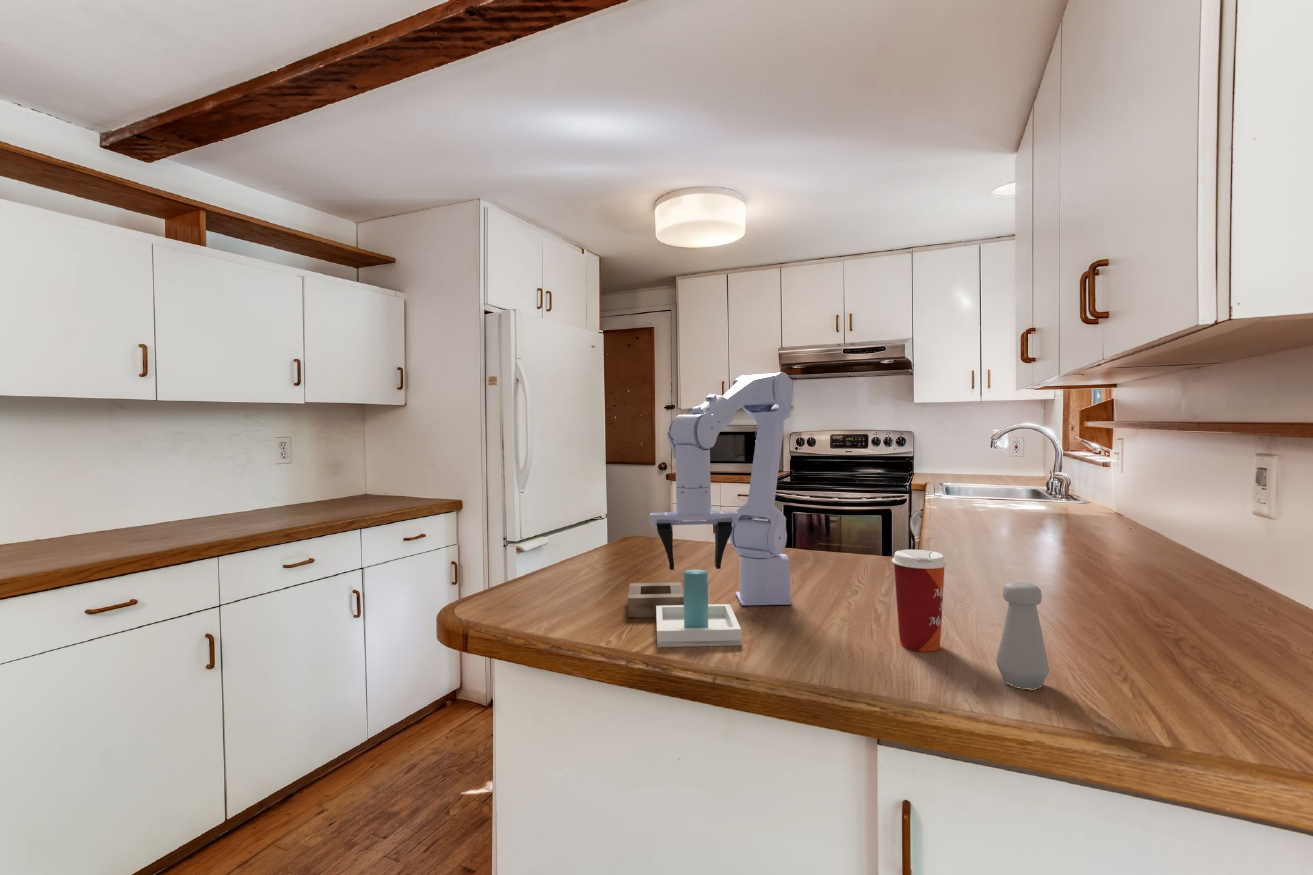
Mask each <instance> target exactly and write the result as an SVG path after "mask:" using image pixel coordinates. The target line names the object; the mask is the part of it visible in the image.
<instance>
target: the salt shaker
mask: <svg viewBox="0 0 1313 875" xmlns="http://www.w3.org/2000/svg"><path fill="white" fill-rule="evenodd" d="M1001 592H1002V597H1003V600H1004V601H1006V602H1007V603H1008V606H1007V611H1006V615H1005V618H1004V624H1003V627H1002V628H1003V629H1002V633H1001V635H1000V636H1001V637H1000V641H999V646H998V650H997V655H996V658H995V659H996V660H995V663H996V666H997V668H998V670H999V673H1000V675H1001V677H1002V679H1003V681H1004V683H1005V682H1007V683H1009V684H1012V685H1013V686H1016V687H1020V688H1031V689H1035V688H1039V687H1040V686H1042V687H1043V684H1044V683H1045V681H1046V679H1047V678H1048V675H1049V672H1050V667H1049V662H1048V657H1047V653H1046V652H1047V651H1046V647H1045V643H1044V642H1045V641H1044V638H1043V636H1044V635H1043V632H1042V627H1041V626H1042V625H1041V621H1040V617H1039V611H1038V607H1037V606H1038V605H1040V604H1041V603H1042V600H1043V598H1042V597H1043V594H1042V590H1041V589H1040V588H1039V586H1037V585H1036V584H1034V583H1031V582H1026V581H1009V582H1006V583H1005V584H1003V586H1002V591H1001ZM1039 689H1040V688H1039Z"/></svg>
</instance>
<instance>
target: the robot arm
mask: <svg viewBox="0 0 1313 875" xmlns="http://www.w3.org/2000/svg"><path fill="white" fill-rule="evenodd" d="M793 394H794V389H793V384H792V381H791V379H790V377H789V375H788V374H787V373H786V372H783V371H779V372H775V373H774V372H773V373H762V374H750V375H749V374H742V375H740V376H738V377H736V378H735V380H734V384H733V386H731V388H730V389H728V390H727V391H726V392H725V393H724V394H723V395H718V394H708V395H707V396H705V401H704V402H702V403H701V404H700V405H699V404H698V405H697V406H693V407H692V408H691V411H690V412H688V413H687V414H679V415H677V416H675V417H674V419H672V421H671V422H670V424H669V426H668V431H666V434H667V439H668V443H669V444H670V446H671V453H672V454H671V455H672V457H673V459H675V488H676V490H675V491H676V492H675V494H676V495H675V496H676V497H675V498H676V511H665V512H651V513H649V521H650V522H649V524H650V527H656V530H657V533H658V535H659V537H660V539H661V542H662V545H663V547H664V550H665V552H666V555H667V559H668V560H667V561H668V568H669V570H670V571H674V570H675V562H674V553H673V552H674V551H673V550H674V549H673V543H674V542H673V535H674V534H673V526H687V525H688V526H689V525H690V526H693V525H695V526H698V525H714V540H715V549H714V552H715V553H714V567H715V569H716V570H721V568H722V562H723V556H724V553H725V550H726V546H727V543H728V541H730V544H731V546H732V547H733V549H734V550H735V554H738V555H739V591H735V596H736V597H737V599H738V601H739V603H740V605H741V606H773V605H774V606H778V605H779V606H781V605H792V601H791V599H792V598H791V594H792V593H791V566H790V565H791V564H790V560H789V556H788V555H787V554H785V553H782V552H783V551H784V549H785V548H786V545H787V541H788V540H787V538H788V534H787V533H788V532H787V517H786V516H785V515H784V514H783V513H782V511H780V509H779V508H778V507H777V506H776V505H775V503H776V502H775V501H776V492H777V485H778V476H779V470H780V469H779V468H780V460H781V452H782V446H783V445H782V444H783V437H784V429H785V422H786V420H787V419H788V418H790V416H791V409H792V402H793ZM741 408H742V409H743V411H744V412H745V413H746V415H747V416H748V418H749V419H751V420H753V421H755V422H756V424H757V429H756V430H757V431H756V435H755V436H756V437H755V438H756V439H755V445H754V453H753V457H752V458H753V460H752V466H751V474H750V481H749V482H750V483H749V488H748V497H747V501H746V502H745V503H744V504H743V505H741V506H740V507H739V508H738V509H736V510H733V511H731V510H728V511H727V510H712V505H711V503H712V499H711V498H712V497H711V488H712V486H711V448H714V446H715V444H716V442H717V439H718V436H719V434H720V432H721V431H722V430H724V429H725V428H726V427H727V426H729V424H731V423H732V422H733V421H734V419H735V413H736V411H738V410H739V409H741Z"/></svg>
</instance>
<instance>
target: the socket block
mask: <svg viewBox="0 0 1313 875" xmlns="http://www.w3.org/2000/svg"><path fill="white" fill-rule="evenodd" d="M628 587H629V588H628V597H627V618H629V617H636V618H656V606H664V605H684V589H683V585H682V582H677V581H676V582H674V581H673V582H633V583H632V582H631V583H629V586H628Z"/></svg>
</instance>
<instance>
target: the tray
mask: <svg viewBox="0 0 1313 875" xmlns="http://www.w3.org/2000/svg"><path fill="white" fill-rule="evenodd" d="M655 618H656V621H655V622H656V644H657V645H656V647H657V648H676V647H677V648H679V647H683V648H685V647H715V646H716V647H722V646H723V647H724V646H729V647H731V646H742V628H741V626H740V624H739V622H738V619H737V617H736V615H735V612H734V610H733V607H732V606H731V604H730V603H720V604H714V603H713V604H708V628H684V605H664V606H656V617H655Z"/></svg>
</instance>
